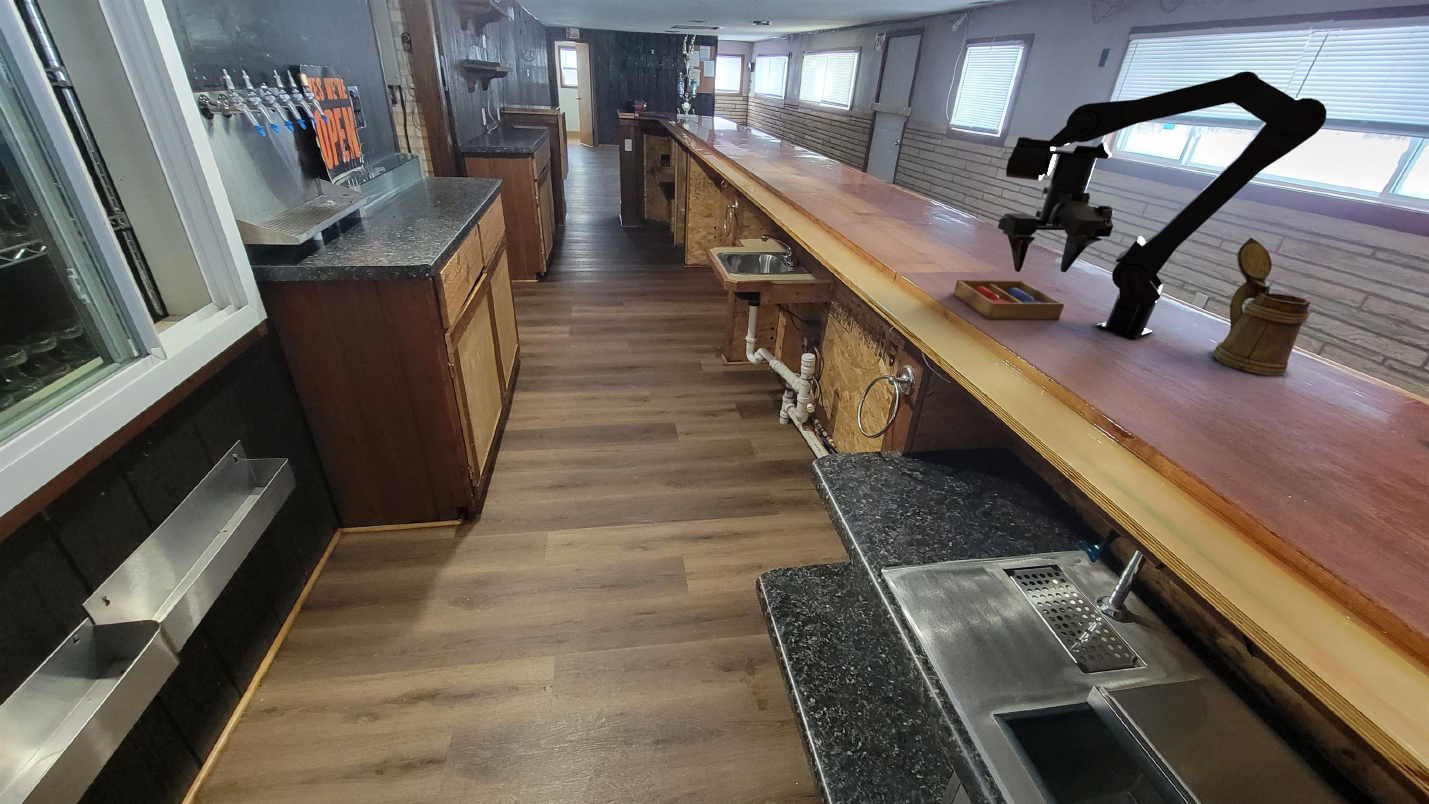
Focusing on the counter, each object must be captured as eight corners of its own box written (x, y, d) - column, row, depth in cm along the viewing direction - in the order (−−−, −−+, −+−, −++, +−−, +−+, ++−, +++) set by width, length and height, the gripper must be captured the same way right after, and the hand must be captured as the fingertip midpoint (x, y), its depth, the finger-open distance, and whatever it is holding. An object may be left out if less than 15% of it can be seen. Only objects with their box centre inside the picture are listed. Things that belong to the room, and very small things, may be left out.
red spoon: (967, 294, 114) (970, 284, 113) (985, 294, 114) (987, 284, 113) (993, 312, 105) (996, 301, 104) (1012, 312, 106) (1015, 301, 105)
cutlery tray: (953, 294, 116) (957, 280, 114) (1017, 294, 117) (1021, 280, 116) (988, 319, 104) (993, 303, 102) (1059, 319, 105) (1064, 304, 104)
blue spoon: (1000, 295, 114) (1003, 286, 113) (1018, 295, 114) (1021, 286, 113) (1029, 313, 105) (1033, 303, 104) (1048, 313, 106) (1052, 303, 105)
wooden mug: (1218, 340, 99) (1272, 237, 90) (1299, 375, 88) (1370, 260, 79) (1175, 341, 98) (1226, 237, 89) (1252, 377, 86) (1319, 261, 77)
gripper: (1046, 190, 91) (1017, 284, 98) (1152, 193, 93) (1116, 285, 100) (1008, 180, 100) (985, 266, 108) (1105, 182, 102) (1075, 267, 110)
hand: (1040, 271), depth 106 cm, fingers open, 9 cm apart
